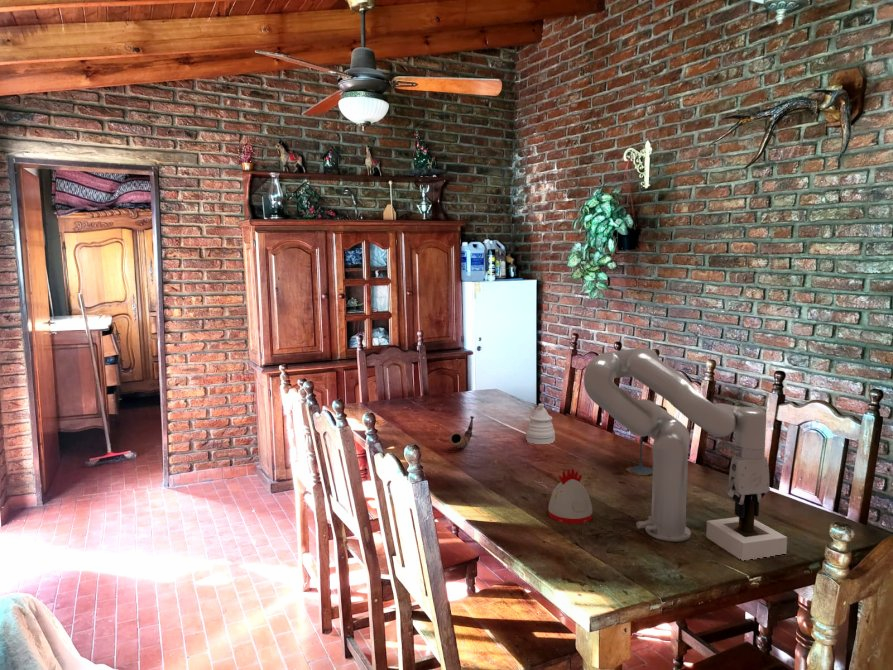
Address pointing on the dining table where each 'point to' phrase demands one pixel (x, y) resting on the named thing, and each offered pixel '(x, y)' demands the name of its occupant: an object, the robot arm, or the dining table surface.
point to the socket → (746, 539)
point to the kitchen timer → (570, 500)
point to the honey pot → (540, 427)
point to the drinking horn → (462, 441)
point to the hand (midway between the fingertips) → (746, 514)
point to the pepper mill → (747, 519)
